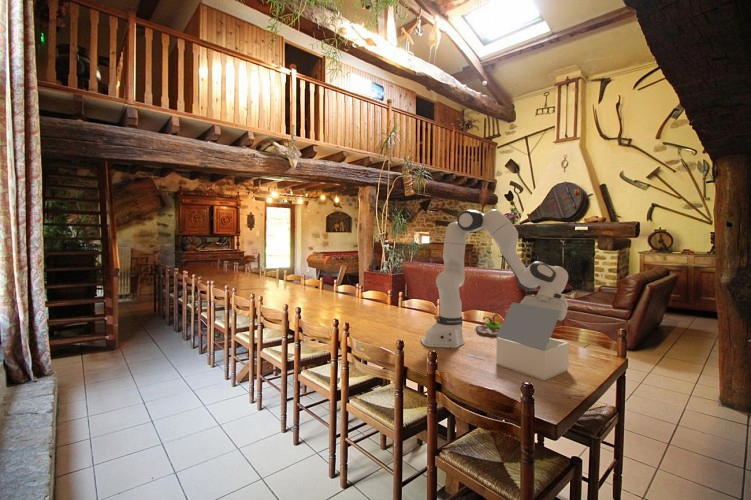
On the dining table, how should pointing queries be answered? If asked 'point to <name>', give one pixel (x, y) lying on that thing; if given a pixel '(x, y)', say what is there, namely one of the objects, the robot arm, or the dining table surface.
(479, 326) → the succulent planter
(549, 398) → the dining table surface
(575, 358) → the dining table surface
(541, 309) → the carton flap
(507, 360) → the shipping carton
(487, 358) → the dining table surface
